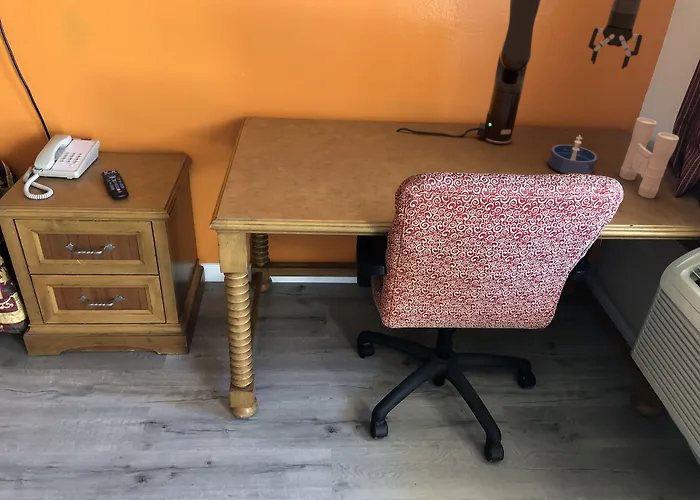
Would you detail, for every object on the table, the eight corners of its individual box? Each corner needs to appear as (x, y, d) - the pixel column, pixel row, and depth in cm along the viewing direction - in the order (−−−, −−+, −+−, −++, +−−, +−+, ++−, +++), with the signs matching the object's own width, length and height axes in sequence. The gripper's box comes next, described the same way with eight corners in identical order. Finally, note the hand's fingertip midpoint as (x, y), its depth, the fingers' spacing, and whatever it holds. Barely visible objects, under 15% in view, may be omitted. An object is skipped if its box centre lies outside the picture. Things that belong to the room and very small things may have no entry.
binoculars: (614, 172, 187) (633, 116, 177) (631, 173, 187) (650, 117, 178) (642, 198, 172) (664, 139, 163) (660, 199, 173) (683, 140, 163)
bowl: (547, 172, 183) (551, 156, 181) (548, 156, 194) (552, 141, 192) (593, 180, 180) (598, 165, 178) (591, 164, 191) (596, 149, 189)
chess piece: (580, 170, 185) (589, 139, 179) (563, 167, 185) (572, 137, 180) (578, 164, 189) (587, 133, 184) (562, 161, 189) (570, 131, 184)
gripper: (598, 8, 176) (583, 64, 185) (650, 15, 172) (632, 72, 180) (600, 4, 182) (584, 59, 191) (650, 11, 178) (632, 67, 186)
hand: (608, 65), depth 185 cm, fingers open, 8 cm apart
